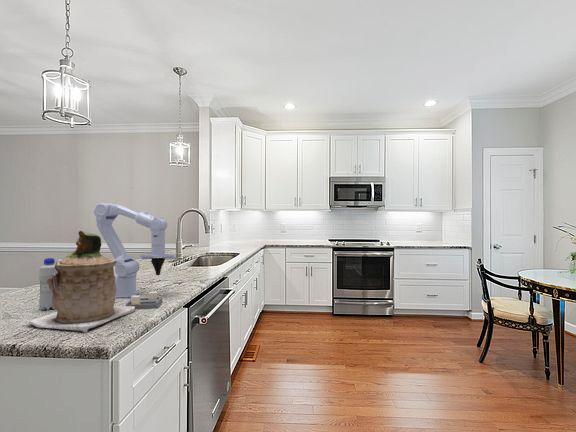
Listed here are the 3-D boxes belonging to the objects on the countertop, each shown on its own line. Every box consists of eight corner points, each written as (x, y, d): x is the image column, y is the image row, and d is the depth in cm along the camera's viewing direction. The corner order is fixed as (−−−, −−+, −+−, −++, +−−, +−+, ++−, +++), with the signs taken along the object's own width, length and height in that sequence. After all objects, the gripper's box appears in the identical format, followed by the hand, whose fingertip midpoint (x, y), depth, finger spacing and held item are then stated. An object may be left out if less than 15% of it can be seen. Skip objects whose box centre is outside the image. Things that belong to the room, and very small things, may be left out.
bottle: (36, 312, 119) (36, 259, 119) (40, 307, 125) (40, 257, 125) (58, 309, 123) (58, 258, 122) (61, 305, 128) (61, 256, 128)
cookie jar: (138, 310, 122) (138, 228, 122) (84, 334, 98) (85, 232, 98) (85, 306, 128) (85, 227, 127) (22, 327, 104) (22, 230, 103)
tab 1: (131, 305, 125) (131, 297, 125) (132, 304, 127) (132, 295, 127) (139, 305, 125) (139, 296, 125) (140, 303, 128) (140, 295, 128)
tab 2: (148, 301, 131) (148, 293, 131) (149, 299, 134) (149, 291, 133) (156, 301, 132) (156, 292, 132) (157, 299, 134) (157, 291, 134)
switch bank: (125, 309, 123) (125, 304, 123) (132, 302, 133) (132, 297, 133) (157, 308, 126) (157, 302, 126) (162, 301, 136) (162, 296, 135)
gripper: (138, 246, 138) (138, 277, 138) (173, 245, 140) (173, 276, 141) (142, 244, 145) (142, 273, 145) (176, 244, 147) (175, 273, 147)
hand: (158, 274), depth 143 cm, fingers closed
